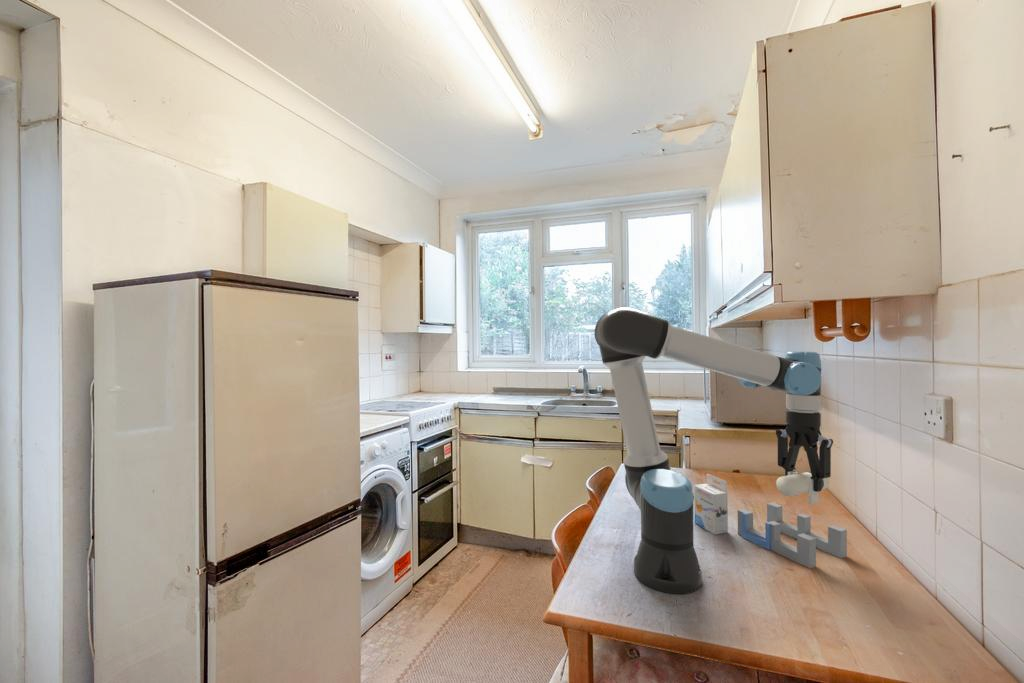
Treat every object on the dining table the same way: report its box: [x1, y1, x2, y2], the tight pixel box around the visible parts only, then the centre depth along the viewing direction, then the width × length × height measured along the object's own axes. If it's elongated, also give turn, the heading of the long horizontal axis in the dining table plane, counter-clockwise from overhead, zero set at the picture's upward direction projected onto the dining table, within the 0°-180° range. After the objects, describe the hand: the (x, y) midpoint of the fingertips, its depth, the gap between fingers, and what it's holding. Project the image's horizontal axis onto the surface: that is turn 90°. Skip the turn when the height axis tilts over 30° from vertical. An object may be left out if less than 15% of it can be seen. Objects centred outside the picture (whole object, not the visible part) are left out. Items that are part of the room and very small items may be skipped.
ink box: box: [693, 473, 729, 536], centre depth 125 cm, size 8×5×15 cm, turn 17°
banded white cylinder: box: [775, 470, 830, 497], centre depth 111 cm, size 14×5×5 cm, turn 112°
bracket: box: [737, 501, 848, 569], centre depth 115 cm, size 16×20×7 cm
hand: (802, 499), depth 111 cm, fingers closed on banded white cylinder, 5 cm apart
